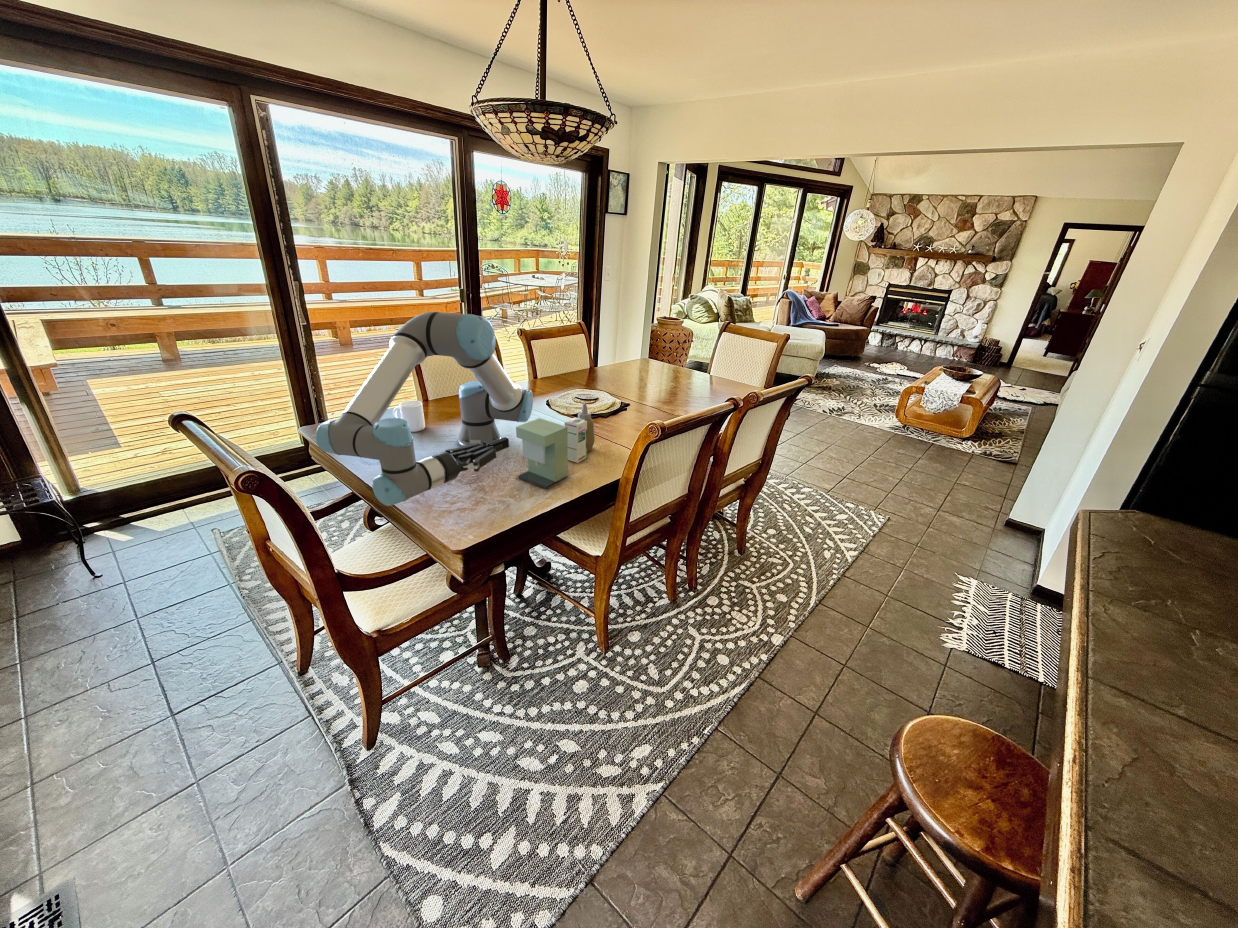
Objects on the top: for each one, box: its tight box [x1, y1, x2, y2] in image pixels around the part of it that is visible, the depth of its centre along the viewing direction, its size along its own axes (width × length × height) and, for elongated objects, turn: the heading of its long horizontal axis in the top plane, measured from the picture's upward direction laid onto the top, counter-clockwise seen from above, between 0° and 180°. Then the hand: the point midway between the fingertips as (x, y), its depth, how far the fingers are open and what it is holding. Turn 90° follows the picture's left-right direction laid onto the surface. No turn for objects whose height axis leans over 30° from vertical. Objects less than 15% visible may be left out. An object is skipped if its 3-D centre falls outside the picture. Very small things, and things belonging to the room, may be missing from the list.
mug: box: [392, 400, 426, 433], centre depth 188 cm, size 12×8×10 cm
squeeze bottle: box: [577, 402, 596, 453], centre depth 176 cm, size 8×8×18 cm
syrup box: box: [564, 416, 588, 464], centre depth 169 cm, size 6×6×14 cm
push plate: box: [521, 439, 545, 464], centre depth 149 cm, size 1×9×6 cm, turn 56°
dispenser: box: [515, 417, 569, 490], centre depth 153 cm, size 10×12×18 cm
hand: (507, 442), depth 138 cm, fingers closed
